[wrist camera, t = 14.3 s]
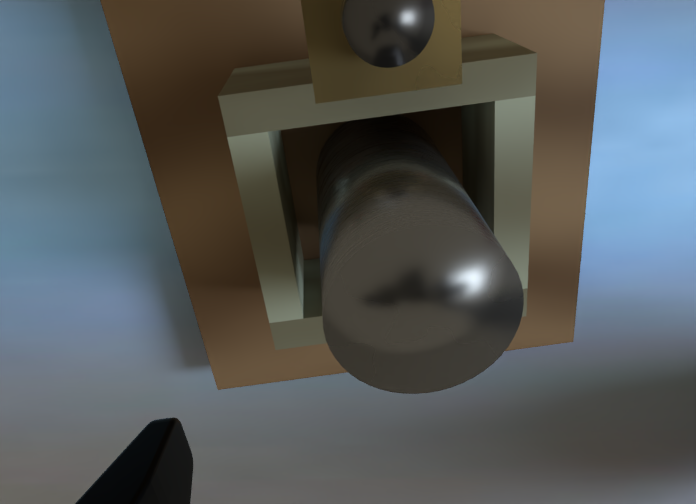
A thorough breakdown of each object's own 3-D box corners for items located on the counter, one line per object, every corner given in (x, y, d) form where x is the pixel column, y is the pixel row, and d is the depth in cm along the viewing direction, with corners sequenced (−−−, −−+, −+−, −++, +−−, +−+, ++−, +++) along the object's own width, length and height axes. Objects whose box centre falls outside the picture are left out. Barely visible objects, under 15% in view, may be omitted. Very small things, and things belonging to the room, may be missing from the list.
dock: (557, 319, 23) (616, 405, 19) (223, 364, 23) (203, 461, 19) (607, -347, 14) (749, -487, 9) (40, -271, 14) (-86, -374, 9)
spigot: (428, 97, 17) (514, 202, 10) (448, 213, 19) (531, 369, 12) (301, 130, 17) (298, 254, 10) (333, 241, 19) (348, 411, 12)
